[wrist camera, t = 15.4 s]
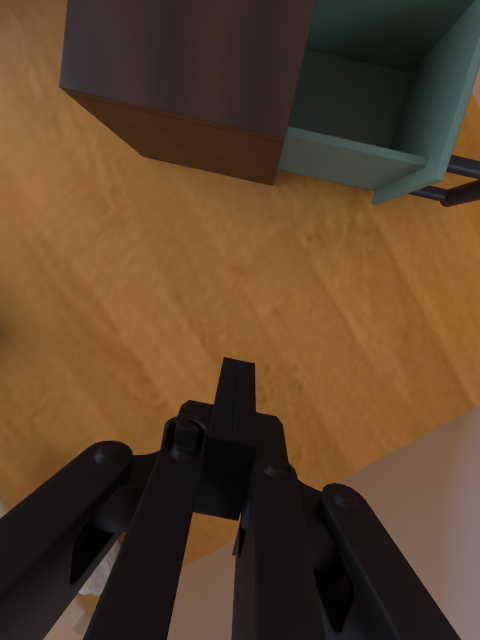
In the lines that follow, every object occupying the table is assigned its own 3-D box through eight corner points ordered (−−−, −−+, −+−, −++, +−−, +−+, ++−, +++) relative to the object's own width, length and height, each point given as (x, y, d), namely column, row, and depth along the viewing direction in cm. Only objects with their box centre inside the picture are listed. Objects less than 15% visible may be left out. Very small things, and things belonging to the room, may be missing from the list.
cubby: (306, 37, 34) (349, -146, 18) (272, 186, 37) (285, 138, 21) (165, 5, 34) (88, -205, 18) (142, 156, 37) (58, 86, 21)
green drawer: (489, 74, 33) (635, -37, 20) (441, 220, 36) (544, 203, 23) (287, 28, 33) (307, -111, 20) (255, 178, 36) (255, 138, 23)
